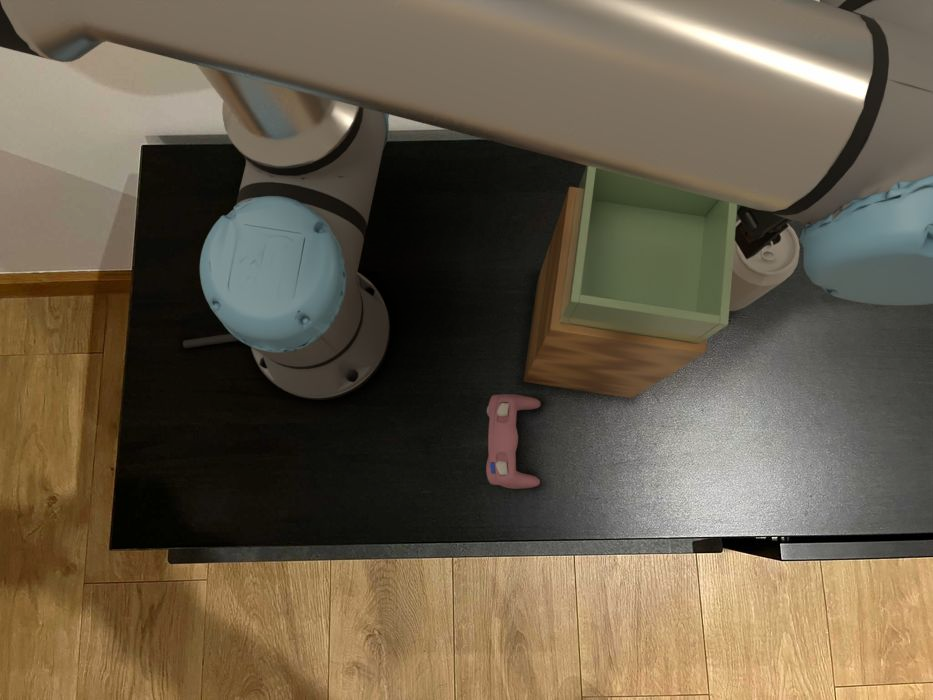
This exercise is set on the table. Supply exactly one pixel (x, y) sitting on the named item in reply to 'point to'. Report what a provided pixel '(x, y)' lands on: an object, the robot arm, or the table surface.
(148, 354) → the table surface
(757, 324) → the table surface
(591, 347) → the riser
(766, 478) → the table surface
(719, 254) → the box
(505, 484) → the video game controller
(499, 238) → the table surface
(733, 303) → the can
